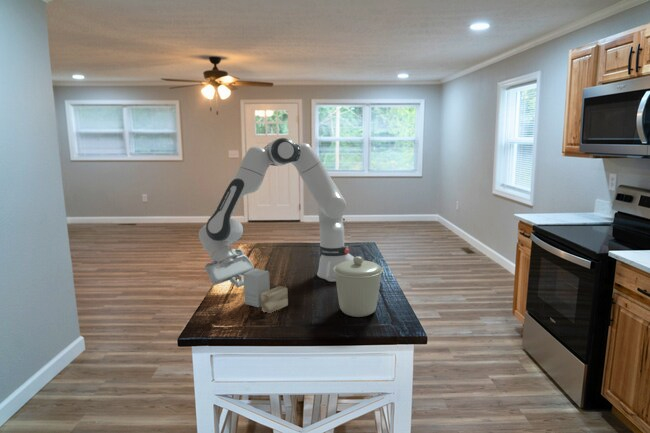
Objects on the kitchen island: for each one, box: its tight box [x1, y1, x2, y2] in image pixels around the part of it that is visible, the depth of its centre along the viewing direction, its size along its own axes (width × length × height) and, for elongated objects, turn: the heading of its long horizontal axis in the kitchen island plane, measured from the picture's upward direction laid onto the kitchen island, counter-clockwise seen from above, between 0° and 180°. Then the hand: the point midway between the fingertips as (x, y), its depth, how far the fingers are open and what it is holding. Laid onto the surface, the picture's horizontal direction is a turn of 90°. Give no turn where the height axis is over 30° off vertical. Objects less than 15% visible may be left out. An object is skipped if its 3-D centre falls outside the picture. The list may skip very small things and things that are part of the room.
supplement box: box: [242, 268, 271, 308], centre depth 166 cm, size 7×7×13 cm
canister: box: [333, 255, 384, 318], centre depth 156 cm, size 18×18×21 cm
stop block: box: [261, 285, 289, 314], centre depth 161 cm, size 4×10×7 cm, turn 143°
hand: (241, 285), depth 172 cm, fingers closed
